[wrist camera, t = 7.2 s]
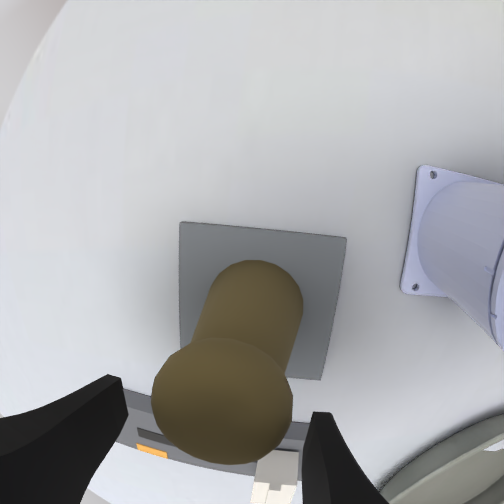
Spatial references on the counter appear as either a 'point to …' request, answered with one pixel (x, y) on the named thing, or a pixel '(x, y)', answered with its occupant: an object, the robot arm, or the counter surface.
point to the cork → (233, 368)
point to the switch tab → (275, 478)
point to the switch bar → (154, 442)
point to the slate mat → (273, 251)
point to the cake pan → (454, 470)
